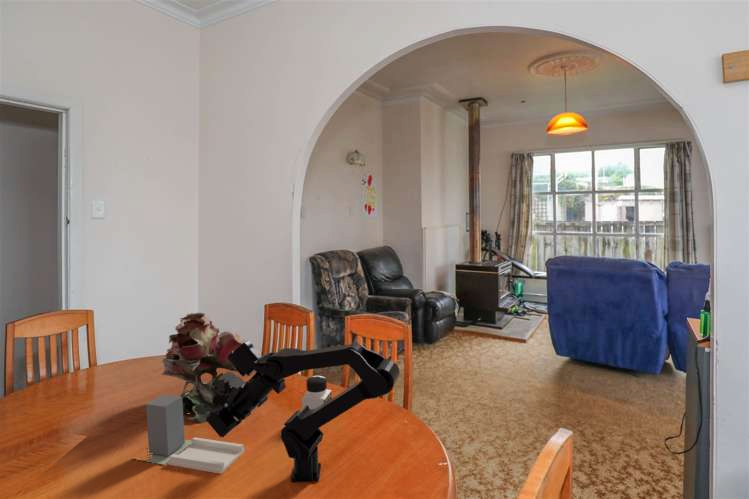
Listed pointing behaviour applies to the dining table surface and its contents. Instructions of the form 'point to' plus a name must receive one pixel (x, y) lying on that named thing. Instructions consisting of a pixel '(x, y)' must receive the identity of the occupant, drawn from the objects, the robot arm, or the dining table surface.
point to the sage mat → (164, 458)
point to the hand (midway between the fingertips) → (219, 427)
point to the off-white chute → (208, 455)
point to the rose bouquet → (200, 362)
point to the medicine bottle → (316, 392)
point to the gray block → (165, 424)
